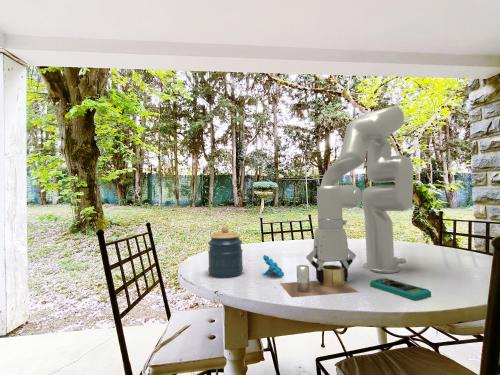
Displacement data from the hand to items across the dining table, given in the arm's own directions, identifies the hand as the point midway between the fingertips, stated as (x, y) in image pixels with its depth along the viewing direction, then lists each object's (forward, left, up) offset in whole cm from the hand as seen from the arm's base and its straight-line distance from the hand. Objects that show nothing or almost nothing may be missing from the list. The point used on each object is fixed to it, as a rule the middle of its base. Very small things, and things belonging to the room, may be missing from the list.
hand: (332, 280), depth 89 cm
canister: (+32, -23, -2) cm, 39 cm away
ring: (0, 0, -1) cm, 1 cm away
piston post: (+11, +4, -1) cm, 12 cm away
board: (+6, +2, -1) cm, 7 cm away
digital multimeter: (-15, +11, -2) cm, 19 cm away
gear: (+15, -15, -2) cm, 21 cm away
